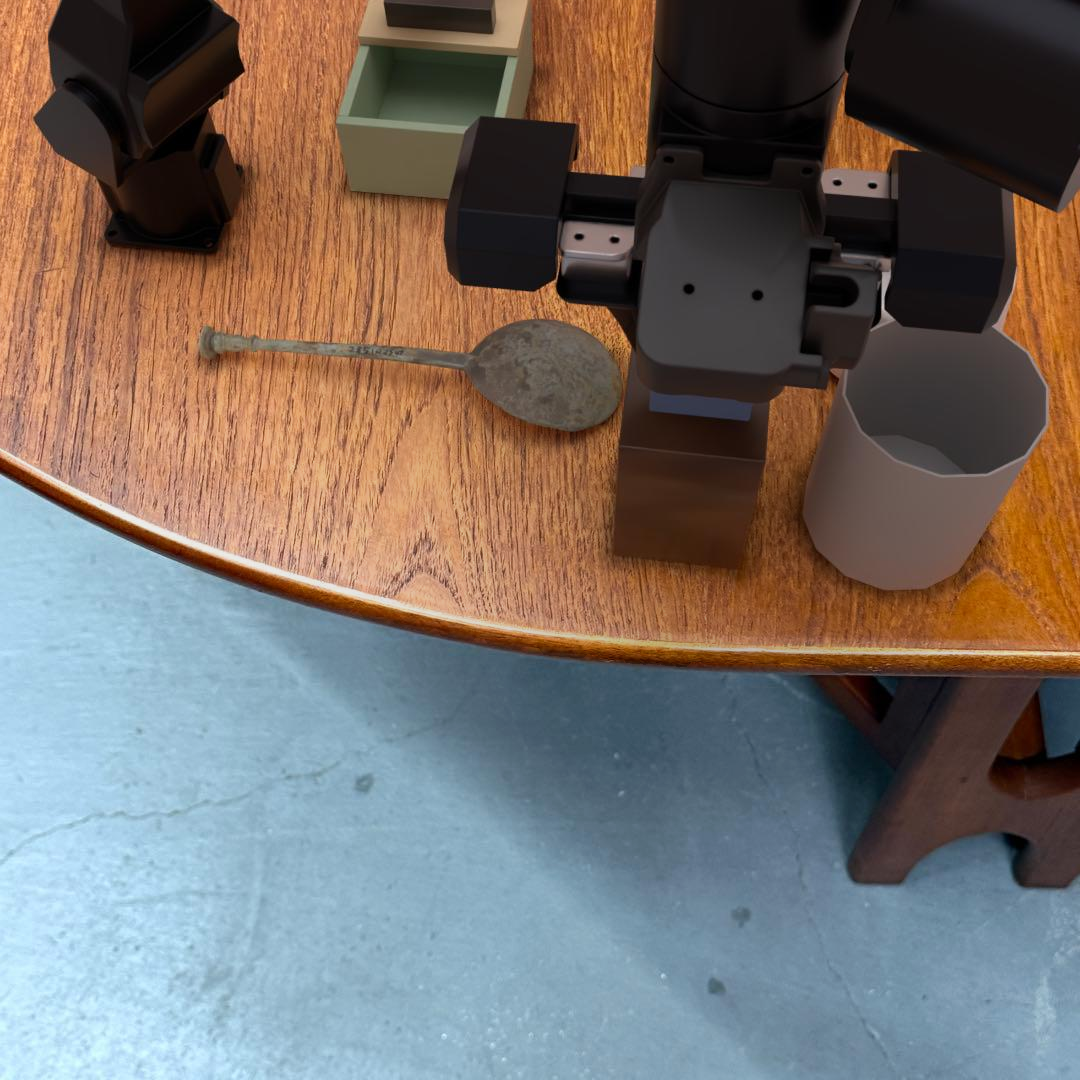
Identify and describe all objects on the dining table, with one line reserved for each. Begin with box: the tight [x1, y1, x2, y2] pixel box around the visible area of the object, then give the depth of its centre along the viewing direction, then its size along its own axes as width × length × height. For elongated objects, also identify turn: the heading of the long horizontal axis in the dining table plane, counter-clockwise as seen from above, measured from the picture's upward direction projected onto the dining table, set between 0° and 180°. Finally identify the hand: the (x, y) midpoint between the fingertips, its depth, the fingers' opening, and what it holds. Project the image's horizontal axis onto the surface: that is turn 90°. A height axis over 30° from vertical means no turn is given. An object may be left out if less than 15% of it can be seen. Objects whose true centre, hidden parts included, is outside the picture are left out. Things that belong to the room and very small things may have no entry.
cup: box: [802, 318, 1050, 591], centre depth 54 cm, size 8×8×10 cm
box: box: [335, 0, 534, 200], centre depth 70 cm, size 9×11×5 cm
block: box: [649, 390, 753, 421], centre depth 48 cm, size 4×4×4 cm
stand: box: [611, 345, 771, 570], centre depth 55 cm, size 6×6×10 cm
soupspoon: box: [198, 318, 623, 432], centre depth 62 cm, size 22×3×7 cm
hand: (703, 367), depth 49 cm, fingers closed on block, 4 cm apart
